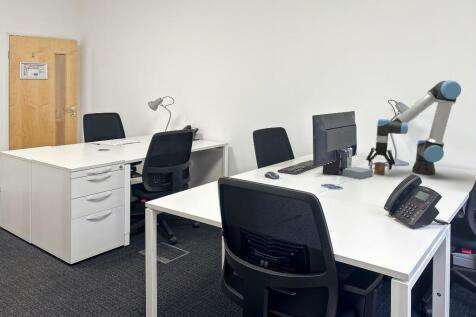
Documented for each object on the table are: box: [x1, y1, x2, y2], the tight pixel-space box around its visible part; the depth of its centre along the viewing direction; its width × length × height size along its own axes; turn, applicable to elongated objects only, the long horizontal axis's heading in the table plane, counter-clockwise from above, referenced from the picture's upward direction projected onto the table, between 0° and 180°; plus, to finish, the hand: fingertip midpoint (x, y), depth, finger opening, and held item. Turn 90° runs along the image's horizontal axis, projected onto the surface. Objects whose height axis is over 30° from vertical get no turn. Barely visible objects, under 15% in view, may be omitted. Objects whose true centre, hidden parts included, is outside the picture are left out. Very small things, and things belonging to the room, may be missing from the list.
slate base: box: [342, 166, 374, 180], centre depth 277 cm, size 14×14×5 cm
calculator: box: [322, 153, 341, 176], centre depth 281 cm, size 11×4×15 cm, turn 84°
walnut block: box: [373, 161, 386, 176], centre depth 284 cm, size 5×5×8 cm
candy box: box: [347, 147, 354, 168], centre depth 298 cm, size 14×6×16 cm, turn 5°
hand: (379, 172), depth 285 cm, fingers open, 13 cm apart
